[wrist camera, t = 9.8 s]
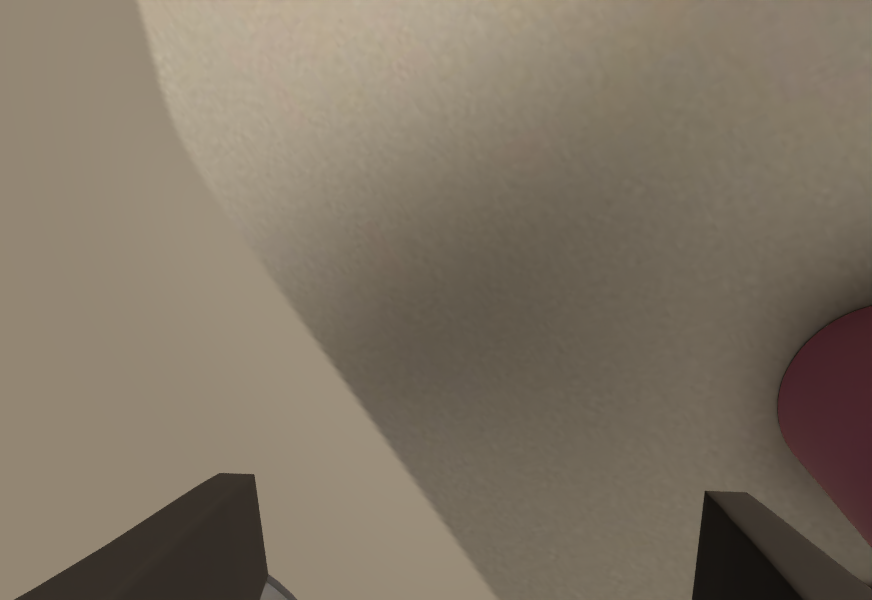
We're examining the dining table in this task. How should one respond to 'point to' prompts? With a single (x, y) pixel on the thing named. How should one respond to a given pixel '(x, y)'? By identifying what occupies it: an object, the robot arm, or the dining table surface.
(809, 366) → the yogurt
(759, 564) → the robot arm
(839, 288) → the dining table surface
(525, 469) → the dining table surface
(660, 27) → the dining table surface
